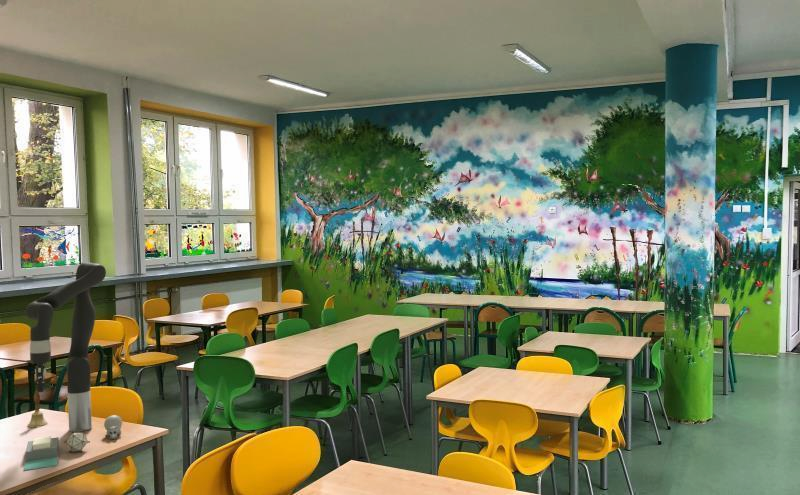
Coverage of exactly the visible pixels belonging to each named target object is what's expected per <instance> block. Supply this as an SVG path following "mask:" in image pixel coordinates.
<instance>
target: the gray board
mask: <svg viewBox="0 0 800 495" xmlns="http://www.w3.org/2000/svg"><path fill="white" fill-rule="evenodd" d="M59 439H60V438H59V436H58V437H51V446H50V448H43V449H36V450H33V442H34V440H30V441H27V443H26V444H27V445H26V448H25V452H24V453H25V454H24V455H25V462H27V461H34V460H40V459H47V458H53V457H57V458H59V457H58V456H59V448H60V444H59V442H60V441H59Z"/></svg>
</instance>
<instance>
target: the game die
mask: <svg viewBox="0 0 800 495" xmlns="http://www.w3.org/2000/svg"><path fill="white" fill-rule="evenodd" d="M71 432H72V433H71V435H70V436H69V437H68V438H67V440H66V441H65V440H63V443H66V446H67V447H68V449H69V453H70V454H71V452H80V453H83V449H84V448H85V447H86V445H87V444H89V443H91V441H89V440H88V439H87V437H86V435H85V433H86V430H85V431H82V432H73V431H71Z"/></svg>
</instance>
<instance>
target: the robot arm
mask: <svg viewBox="0 0 800 495" xmlns="http://www.w3.org/2000/svg"><path fill="white" fill-rule="evenodd" d="M75 272H76V273H75V280H73V281H71V282H68V283H67V282H66V283H65V284H62V285H60V286H58V287H56V288H55V289H54V290H52V291H51V292H50V293H48V294H47V295H45V296H42V297H40V298H38V299H35V300H33V301H32V302H30V303H29V304H28V305H27V306H26V309H25V315H26V317H27V318H28V319H30V320H37V323H36V325H33V326H31V327H30V331H29V332H30V343H29V363H31V364H33V365H34V364H35V365H36V366H35V368H34V372H35V379H36V380H35V383H36V389H37V392H39V393H43V392H44V388H45V386H46V384H45V383H46V375H47V365H46V363H50V362H51V361H52V353H51V352H52V350H51V346H52V345H51V344H52V343H51V340H50V339H51V338H50V335H51V334H50V332H51V331H50V330H51V326H52V323H53V317H54V310H57V309H59V308H61V307H62V306H63V305H64V304H66V303H68V301H70V300H71V299H74V305H73V307H74V308H73V312H72V319H71V320H72V321H71V328H70V329H71V333H70V334H71V335H70V337H71V338H70V341H71V342H70V348H69V353H68V357H67V360H66V363H65V364H66V366H65V367H66V373H67V375H66V377H67V410H68V412H67V413H68V414H67V415H68V430H69V432H72V431H73V432H74V433H80V432H84V431H85V432H86V431H88V430H92V429H93V427H92V426H93V425H92V402H91V401H92V400H91V398H92V397H91V363H90V361H89V344H90V340H91V337H92V334H93V332H94V327H95V321H96V308H95V305H94V303H93V301H92V298H91V295H90V289H91V288H92V287H94V286H96V285H98V284H101V283H102V282H103V281H104V280H105V278H106V276H107V270H106V268H105V266H104V265H102V264H101V263H94V262H87V261H86V262H85V261H84V262H81V263H80V264H78V266H77V269H76V271H75Z"/></svg>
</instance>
